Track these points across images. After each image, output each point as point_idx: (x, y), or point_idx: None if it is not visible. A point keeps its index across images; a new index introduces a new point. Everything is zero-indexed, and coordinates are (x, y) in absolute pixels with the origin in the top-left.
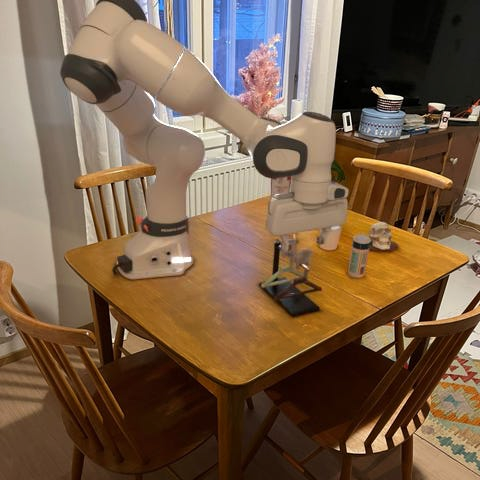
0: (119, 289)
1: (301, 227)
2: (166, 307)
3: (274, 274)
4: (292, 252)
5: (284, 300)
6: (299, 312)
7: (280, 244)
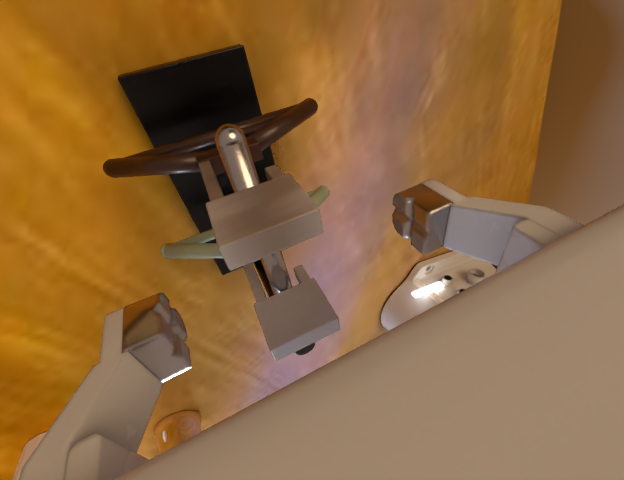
0: None
1: (536, 325)
2: (488, 148)
3: None
4: (265, 296)
5: None
6: (215, 53)
7: None
